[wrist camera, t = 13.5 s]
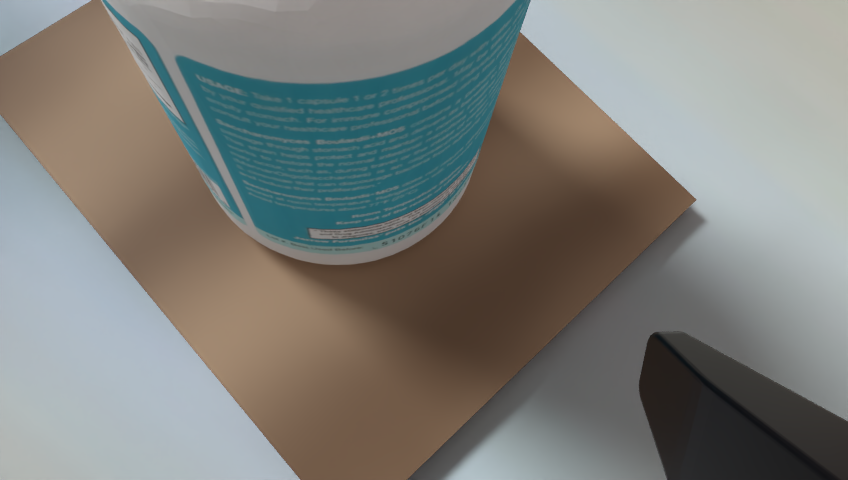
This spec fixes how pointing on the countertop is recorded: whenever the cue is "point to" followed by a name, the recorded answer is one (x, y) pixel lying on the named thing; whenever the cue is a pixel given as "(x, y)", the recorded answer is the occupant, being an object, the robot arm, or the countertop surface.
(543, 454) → the countertop surface
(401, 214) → the pill bottle
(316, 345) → the walnut board
